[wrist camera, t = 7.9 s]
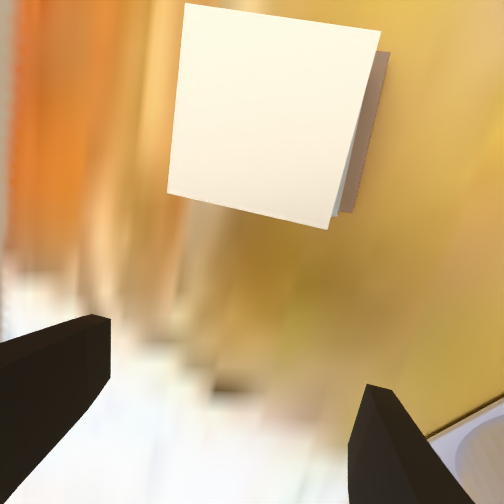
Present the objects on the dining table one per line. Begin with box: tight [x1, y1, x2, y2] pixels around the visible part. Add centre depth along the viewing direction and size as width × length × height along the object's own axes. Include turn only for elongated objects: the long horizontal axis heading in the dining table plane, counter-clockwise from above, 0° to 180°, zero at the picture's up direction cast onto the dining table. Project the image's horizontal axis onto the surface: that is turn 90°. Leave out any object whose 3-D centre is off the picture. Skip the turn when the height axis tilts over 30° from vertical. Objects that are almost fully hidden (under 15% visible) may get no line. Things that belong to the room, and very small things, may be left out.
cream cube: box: [167, 3, 381, 230], centre depth 10 cm, size 4×4×4 cm
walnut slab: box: [339, 51, 390, 213], centre depth 16 cm, size 6×6×2 cm
